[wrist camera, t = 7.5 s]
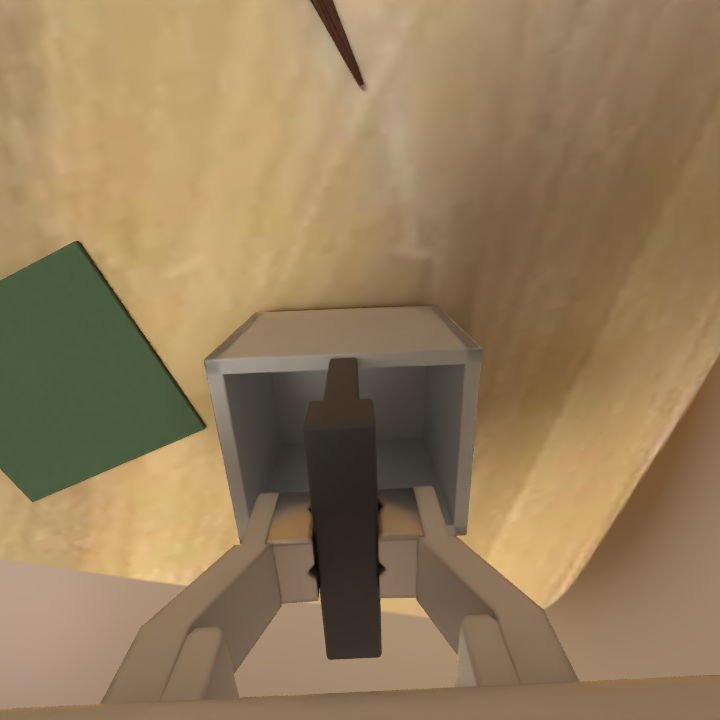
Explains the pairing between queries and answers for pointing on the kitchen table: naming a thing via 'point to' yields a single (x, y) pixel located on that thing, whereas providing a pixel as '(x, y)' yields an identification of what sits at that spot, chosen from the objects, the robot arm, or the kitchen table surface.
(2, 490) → the kitchen table surface
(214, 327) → the kitchen table surface
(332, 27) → the fork
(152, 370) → the mat
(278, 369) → the basket
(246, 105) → the kitchen table surface
